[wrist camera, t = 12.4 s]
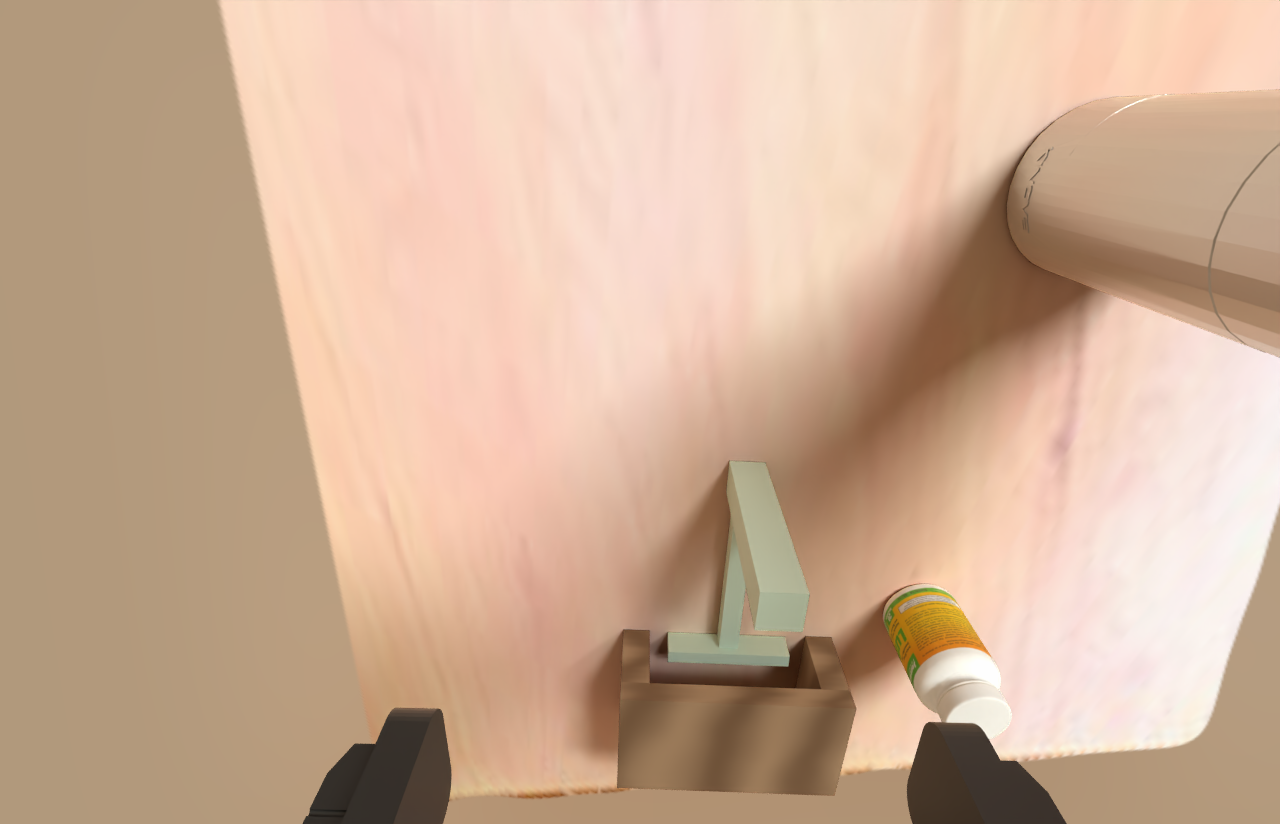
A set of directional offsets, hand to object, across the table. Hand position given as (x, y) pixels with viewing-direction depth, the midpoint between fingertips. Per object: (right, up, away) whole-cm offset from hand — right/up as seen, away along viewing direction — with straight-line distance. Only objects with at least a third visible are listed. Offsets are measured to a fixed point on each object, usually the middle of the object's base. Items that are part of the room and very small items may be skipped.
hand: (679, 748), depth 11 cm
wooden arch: (+6, -15, +40) cm, 43 cm away
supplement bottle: (+20, -9, +37) cm, 43 cm away
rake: (+6, -5, +35) cm, 36 cm away
